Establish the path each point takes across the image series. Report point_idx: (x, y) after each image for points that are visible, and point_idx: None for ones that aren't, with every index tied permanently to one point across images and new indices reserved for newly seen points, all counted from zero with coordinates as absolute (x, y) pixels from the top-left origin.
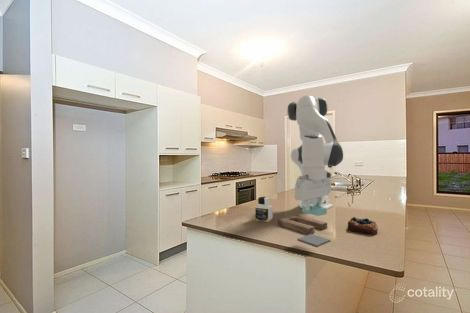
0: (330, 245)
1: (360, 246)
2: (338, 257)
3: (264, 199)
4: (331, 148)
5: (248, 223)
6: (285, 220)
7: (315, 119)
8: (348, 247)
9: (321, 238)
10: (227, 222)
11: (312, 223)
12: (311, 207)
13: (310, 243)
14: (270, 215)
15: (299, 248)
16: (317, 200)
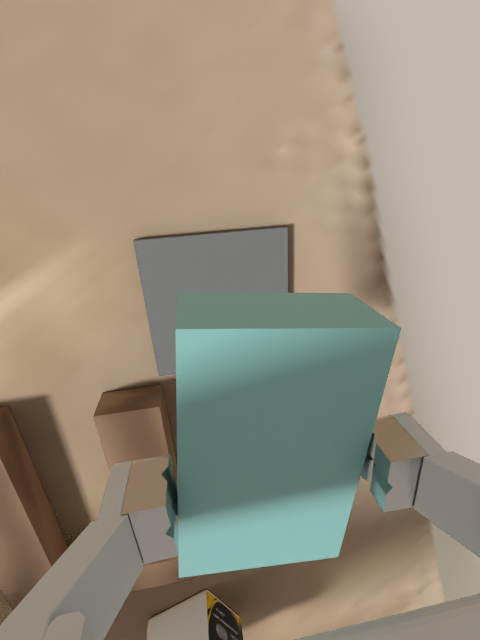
0: (198, 188)
1: (3, 17)
2: (329, 19)
3: None
4: None
5: (295, 594)
6: (167, 559)
7: None
8: (116, 77)
9: (167, 289)
10: (352, 620)
11: (23, 483)
12: (348, 451)
13: (286, 274)
14: (174, 636)
15: (378, 266)
16: (112, 611)
